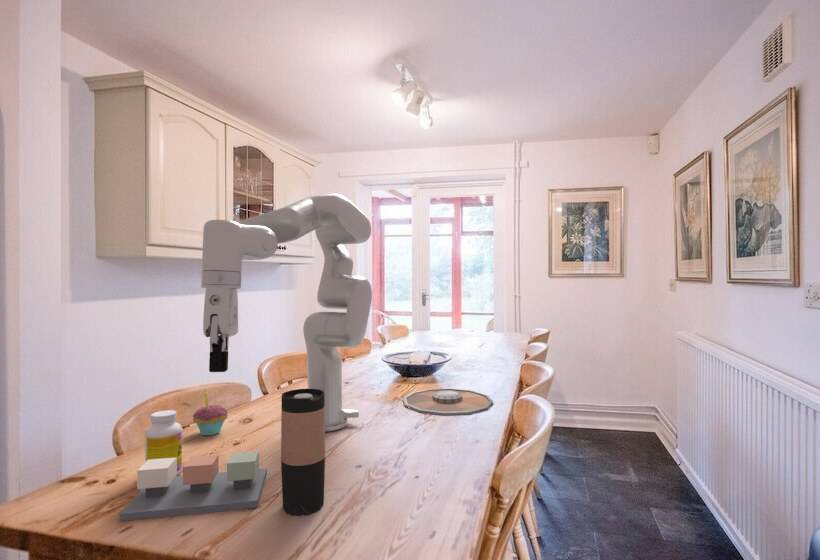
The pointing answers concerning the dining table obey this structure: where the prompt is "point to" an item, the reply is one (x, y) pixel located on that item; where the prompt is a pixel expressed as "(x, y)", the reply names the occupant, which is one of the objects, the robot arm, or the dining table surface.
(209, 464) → the button terracotta
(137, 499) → the board
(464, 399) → the shield
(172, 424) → the supplement bottle
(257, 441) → the dining table surface
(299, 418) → the travel mug
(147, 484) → the button cream
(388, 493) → the dining table surface
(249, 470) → the button sage
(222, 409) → the cupcake
